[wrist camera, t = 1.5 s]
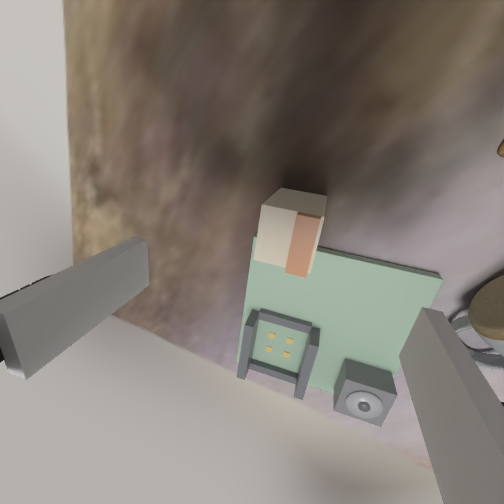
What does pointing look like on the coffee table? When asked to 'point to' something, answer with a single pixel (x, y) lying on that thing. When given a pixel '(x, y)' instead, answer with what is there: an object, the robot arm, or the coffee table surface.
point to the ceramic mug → (486, 323)
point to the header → (307, 359)
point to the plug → (290, 230)
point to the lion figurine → (501, 150)
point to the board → (338, 311)
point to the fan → (364, 392)
